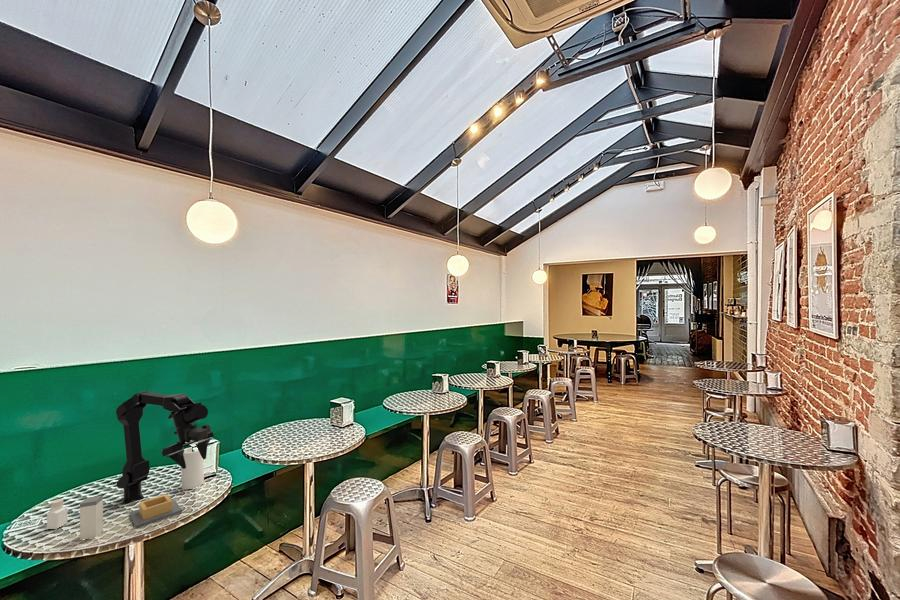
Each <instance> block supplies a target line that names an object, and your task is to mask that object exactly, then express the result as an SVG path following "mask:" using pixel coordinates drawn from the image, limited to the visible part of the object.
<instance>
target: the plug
mask: <svg viewBox="0 0 900 600" xmlns="http://www.w3.org/2000/svg"><path fill="white" fill-rule="evenodd" d="M103 497H104V496H103V495H96V496H90V497H86V498H85V499H84V500H82V501H81V502H80V503H79V536H80V537H79V541H80V540H83V539H88V538H94V539H96V538H95V537H97V536H98V535H99V534H100V533H101V532H102V531H103V532H104V498H103ZM103 532H102V533H103ZM102 533H101V534H102ZM101 534H100V535H101ZM100 535H99V536H100ZM99 536H98V537H99ZM98 537H97V538H98ZM83 541H84V540H83Z"/></svg>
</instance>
